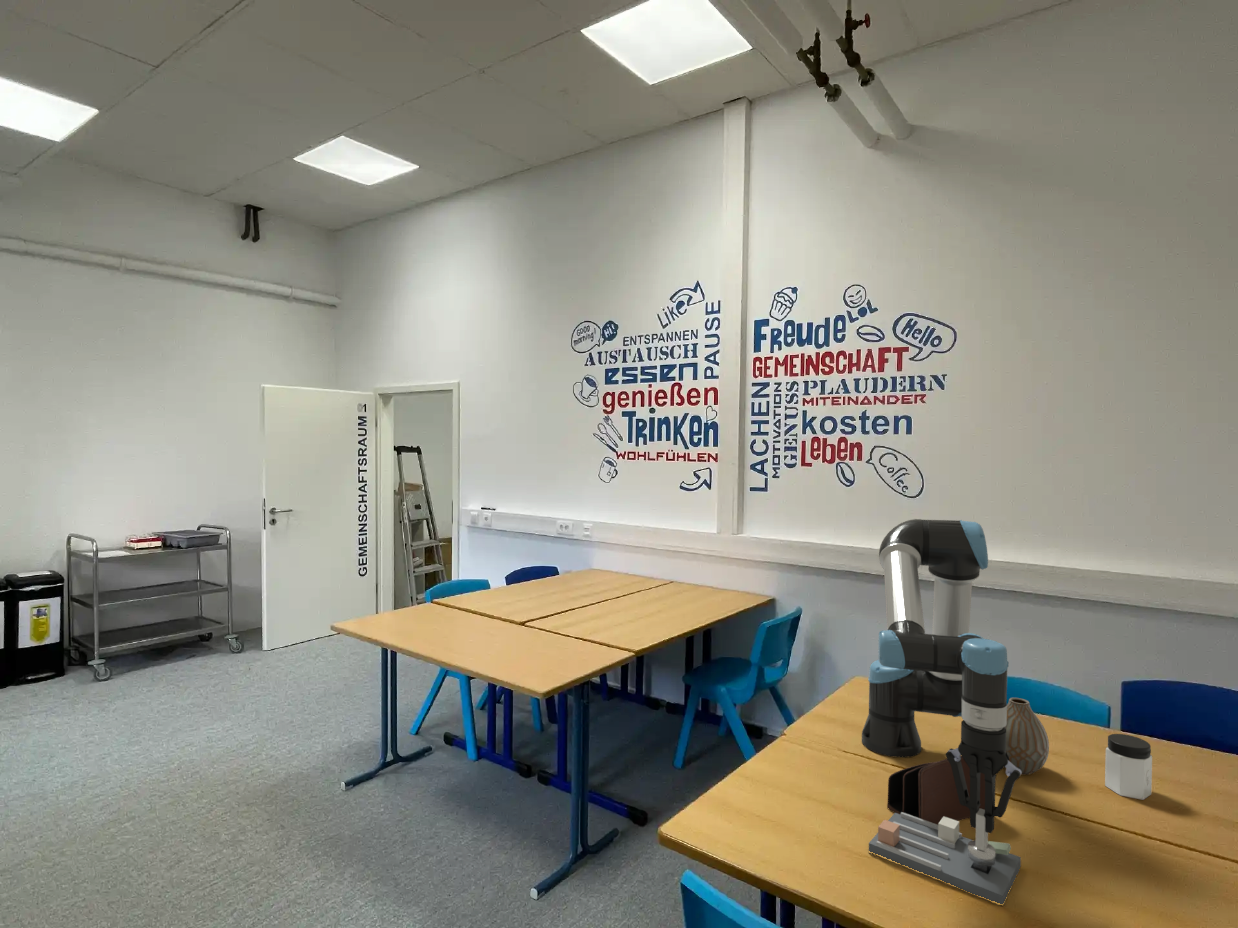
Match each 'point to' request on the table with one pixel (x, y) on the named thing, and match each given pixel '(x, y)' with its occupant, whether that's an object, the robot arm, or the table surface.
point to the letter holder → (930, 792)
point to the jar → (1128, 766)
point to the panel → (949, 858)
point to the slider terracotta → (888, 833)
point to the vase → (1025, 737)
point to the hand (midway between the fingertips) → (981, 845)
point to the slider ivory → (948, 829)
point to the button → (981, 856)
